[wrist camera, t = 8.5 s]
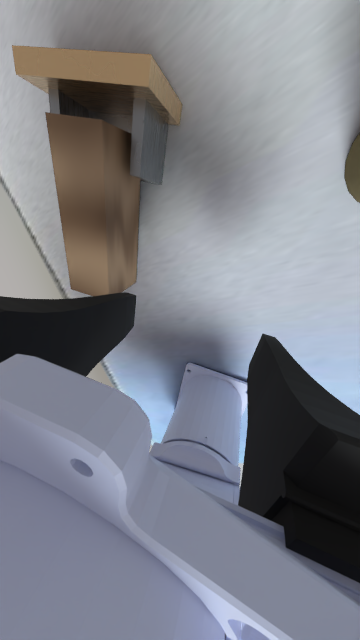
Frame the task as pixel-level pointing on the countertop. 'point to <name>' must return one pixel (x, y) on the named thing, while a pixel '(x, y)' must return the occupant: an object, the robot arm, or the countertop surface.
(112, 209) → the tan rectangular block
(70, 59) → the bracket
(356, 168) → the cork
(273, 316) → the countertop surface
